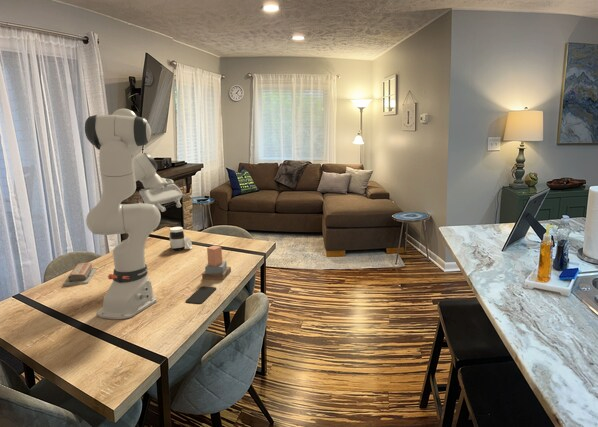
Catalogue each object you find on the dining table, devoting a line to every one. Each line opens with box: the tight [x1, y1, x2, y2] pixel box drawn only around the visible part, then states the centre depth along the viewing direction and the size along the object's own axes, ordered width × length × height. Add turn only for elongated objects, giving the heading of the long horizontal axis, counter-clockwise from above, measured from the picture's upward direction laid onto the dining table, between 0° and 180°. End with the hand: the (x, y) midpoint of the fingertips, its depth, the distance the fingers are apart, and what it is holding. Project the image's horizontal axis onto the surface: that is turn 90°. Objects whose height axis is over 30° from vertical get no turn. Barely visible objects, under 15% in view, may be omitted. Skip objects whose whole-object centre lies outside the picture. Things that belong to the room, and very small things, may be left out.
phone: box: [184, 285, 217, 305], centre depth 164 cm, size 7×1×15 cm
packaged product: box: [62, 261, 97, 287], centre depth 184 cm, size 18×5×10 cm
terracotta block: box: [206, 245, 223, 267], centre depth 182 cm, size 4×4×8 cm
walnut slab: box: [201, 266, 232, 281], centre depth 184 cm, size 10×10×3 cm
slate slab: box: [204, 260, 228, 274], centre depth 183 cm, size 8×8×3 cm
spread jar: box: [169, 226, 193, 252], centre depth 222 cm, size 12×11×12 cm
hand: (172, 208), depth 187 cm, fingers open, 8 cm apart
